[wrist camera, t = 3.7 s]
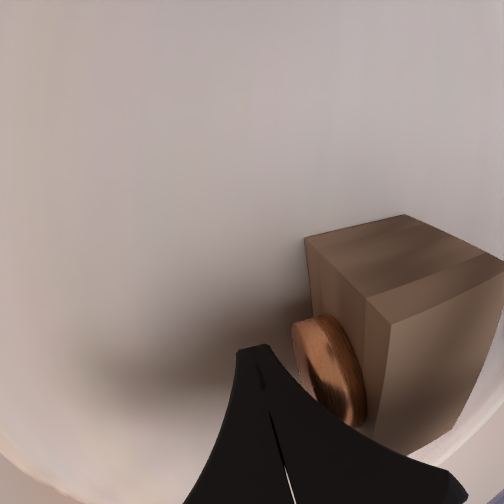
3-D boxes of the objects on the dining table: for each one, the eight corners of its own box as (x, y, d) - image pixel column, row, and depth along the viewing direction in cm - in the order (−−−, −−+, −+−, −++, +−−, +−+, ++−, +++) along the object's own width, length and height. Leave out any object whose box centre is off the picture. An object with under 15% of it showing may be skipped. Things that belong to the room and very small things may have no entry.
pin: (434, 255, 9) (505, 299, 6) (423, 333, 11) (475, 385, 7) (286, 299, 9) (330, 384, 5) (297, 380, 10) (329, 459, 7)
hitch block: (404, 214, 9) (512, 266, 5) (395, 357, 12) (451, 429, 7) (304, 237, 9) (391, 324, 4) (318, 386, 12) (360, 476, 7)
